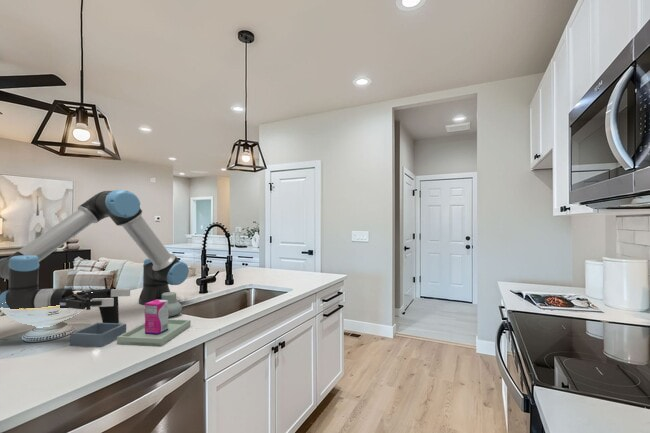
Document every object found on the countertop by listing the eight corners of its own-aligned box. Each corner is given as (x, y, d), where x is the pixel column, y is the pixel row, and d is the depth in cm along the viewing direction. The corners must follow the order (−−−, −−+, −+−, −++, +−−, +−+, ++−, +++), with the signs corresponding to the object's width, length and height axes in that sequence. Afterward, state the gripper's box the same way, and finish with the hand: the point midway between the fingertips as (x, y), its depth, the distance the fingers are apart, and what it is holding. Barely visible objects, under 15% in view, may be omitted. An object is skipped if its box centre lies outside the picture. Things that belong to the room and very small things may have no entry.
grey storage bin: (97, 333, 116) (97, 322, 116) (125, 334, 115) (126, 323, 115) (69, 345, 104) (70, 333, 105) (101, 347, 104) (101, 335, 104)
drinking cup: (111, 324, 116) (104, 274, 122) (94, 331, 117) (88, 281, 122) (127, 322, 123) (120, 275, 129) (112, 328, 124) (105, 281, 130)
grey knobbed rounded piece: (151, 317, 135) (151, 294, 136) (164, 311, 144) (165, 290, 144) (172, 319, 133) (173, 296, 133) (185, 313, 141) (185, 292, 141)
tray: (153, 324, 126) (153, 318, 126) (190, 326, 125) (190, 320, 125) (116, 344, 106) (116, 336, 106) (160, 346, 105) (161, 339, 105)
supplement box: (155, 328, 119) (156, 299, 119) (168, 329, 118) (169, 300, 118) (143, 333, 113) (144, 302, 114) (157, 335, 112) (158, 304, 112)
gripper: (76, 300, 121) (135, 298, 125) (29, 321, 97) (104, 318, 101) (76, 281, 121) (135, 279, 125) (29, 298, 97) (105, 295, 101)
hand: (122, 296), depth 113 cm, fingers open, 13 cm apart
